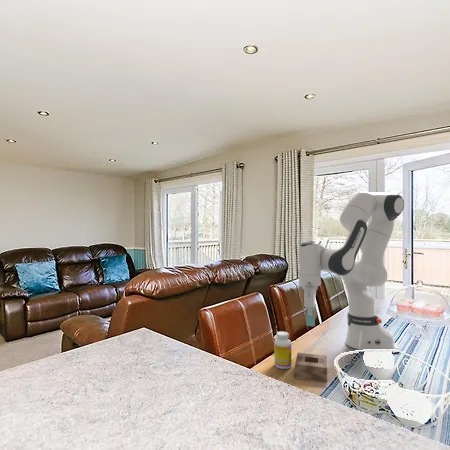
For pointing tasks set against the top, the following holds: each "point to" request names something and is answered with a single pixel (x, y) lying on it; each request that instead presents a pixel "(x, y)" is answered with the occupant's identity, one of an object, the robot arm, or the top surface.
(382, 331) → the robot arm
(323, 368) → the socket block
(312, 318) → the teal peg
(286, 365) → the supplement bottle
